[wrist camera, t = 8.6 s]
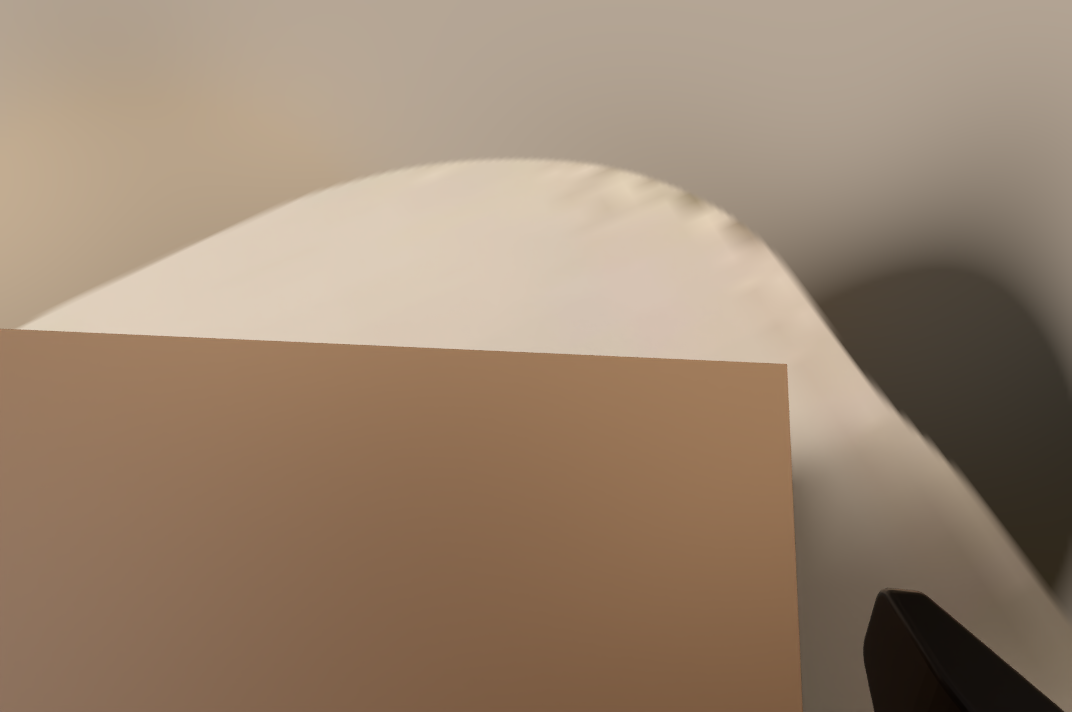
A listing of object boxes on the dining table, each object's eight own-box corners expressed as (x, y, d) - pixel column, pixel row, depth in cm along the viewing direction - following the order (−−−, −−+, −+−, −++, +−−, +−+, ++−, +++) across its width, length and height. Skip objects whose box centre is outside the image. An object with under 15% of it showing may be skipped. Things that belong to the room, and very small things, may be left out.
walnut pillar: (639, 799, 14) (858, 1963, 2) (406, 771, 15) (-525, 1549, 3) (646, 550, 16) (786, 363, 4) (436, 534, 16) (-39, 327, 4)
